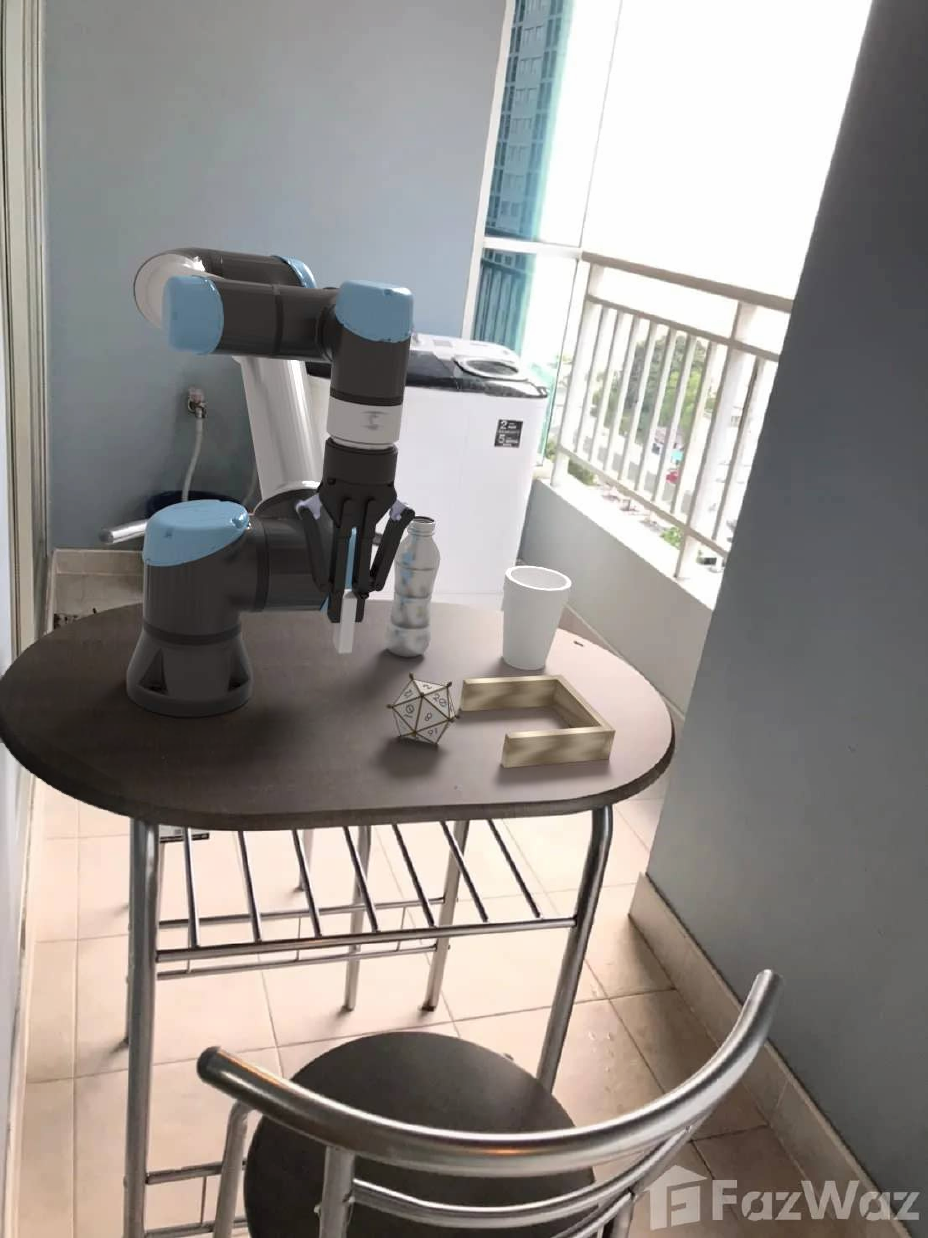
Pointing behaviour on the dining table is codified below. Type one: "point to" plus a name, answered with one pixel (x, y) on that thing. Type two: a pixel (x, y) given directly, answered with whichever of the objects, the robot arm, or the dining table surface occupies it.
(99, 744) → the dining table surface
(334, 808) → the dining table surface
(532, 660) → the foam cup
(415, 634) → the plastic bottle
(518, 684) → the corral
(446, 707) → the game die
